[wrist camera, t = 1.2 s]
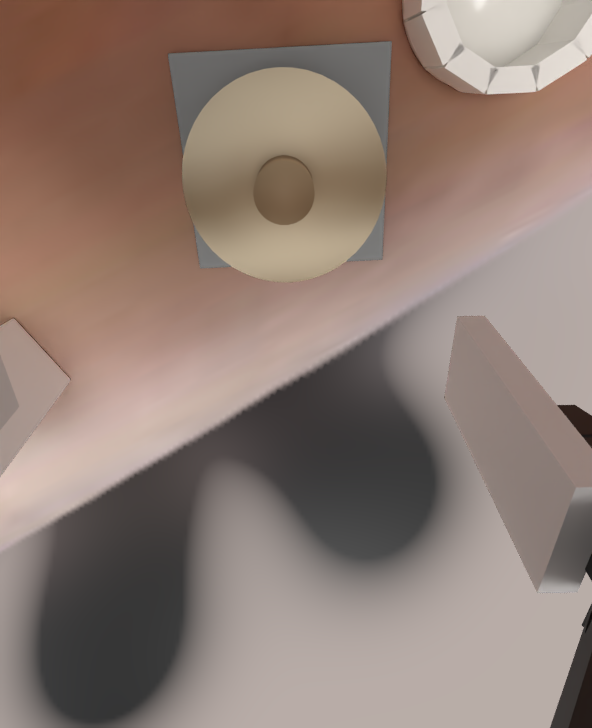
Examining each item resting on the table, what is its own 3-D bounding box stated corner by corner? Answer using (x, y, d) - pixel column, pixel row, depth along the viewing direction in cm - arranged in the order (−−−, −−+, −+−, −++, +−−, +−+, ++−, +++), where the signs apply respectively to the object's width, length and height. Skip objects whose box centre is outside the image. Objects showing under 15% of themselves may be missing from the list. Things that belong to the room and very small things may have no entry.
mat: (169, 54, 27) (167, 53, 26) (390, 41, 27) (391, 41, 26) (201, 266, 33) (200, 268, 32) (381, 257, 33) (382, 259, 32)
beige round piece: (189, 74, 27) (153, 72, 20) (372, 64, 27) (400, 59, 20) (213, 252, 32) (191, 301, 25) (367, 245, 32) (388, 291, 25)
